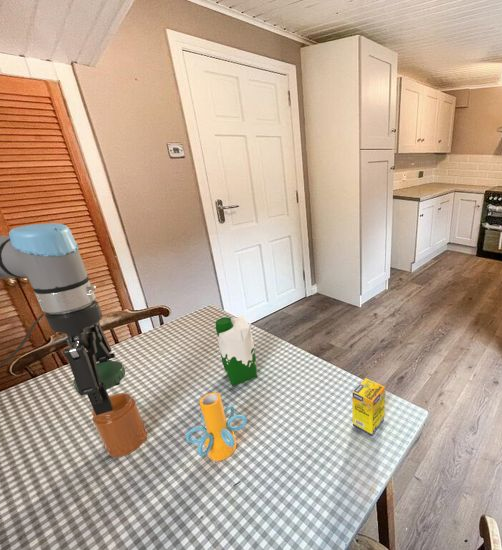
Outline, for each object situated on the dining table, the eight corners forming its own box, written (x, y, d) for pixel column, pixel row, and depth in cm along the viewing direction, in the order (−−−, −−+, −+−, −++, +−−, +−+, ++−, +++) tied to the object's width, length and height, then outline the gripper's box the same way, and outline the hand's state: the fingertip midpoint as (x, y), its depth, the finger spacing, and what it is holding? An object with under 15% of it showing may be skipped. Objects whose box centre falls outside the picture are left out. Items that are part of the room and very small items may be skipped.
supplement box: (372, 437, 72) (372, 402, 68) (352, 425, 76) (351, 391, 71) (384, 420, 77) (385, 386, 73) (365, 410, 80) (365, 377, 76)
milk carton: (223, 373, 94) (211, 316, 86) (253, 362, 98) (244, 308, 91) (229, 390, 87) (216, 330, 79) (261, 377, 92) (252, 320, 84)
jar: (106, 441, 72) (88, 403, 67) (144, 423, 76) (130, 386, 72) (108, 464, 66) (90, 424, 62) (149, 443, 71) (135, 405, 67)
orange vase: (190, 481, 63) (173, 428, 57) (194, 440, 72) (180, 391, 66) (252, 459, 67) (242, 408, 62) (249, 423, 76) (239, 376, 71)
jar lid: (101, 396, 60) (97, 388, 59) (65, 392, 61) (61, 384, 60) (134, 369, 68) (132, 362, 67) (102, 366, 69) (99, 359, 68)
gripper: (82, 325, 51) (123, 425, 60) (106, 282, 68) (135, 365, 76) (20, 338, 48) (72, 442, 56) (62, 289, 64) (97, 375, 73)
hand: (108, 397), depth 66 cm, fingers closed on jar lid, 8 cm apart
